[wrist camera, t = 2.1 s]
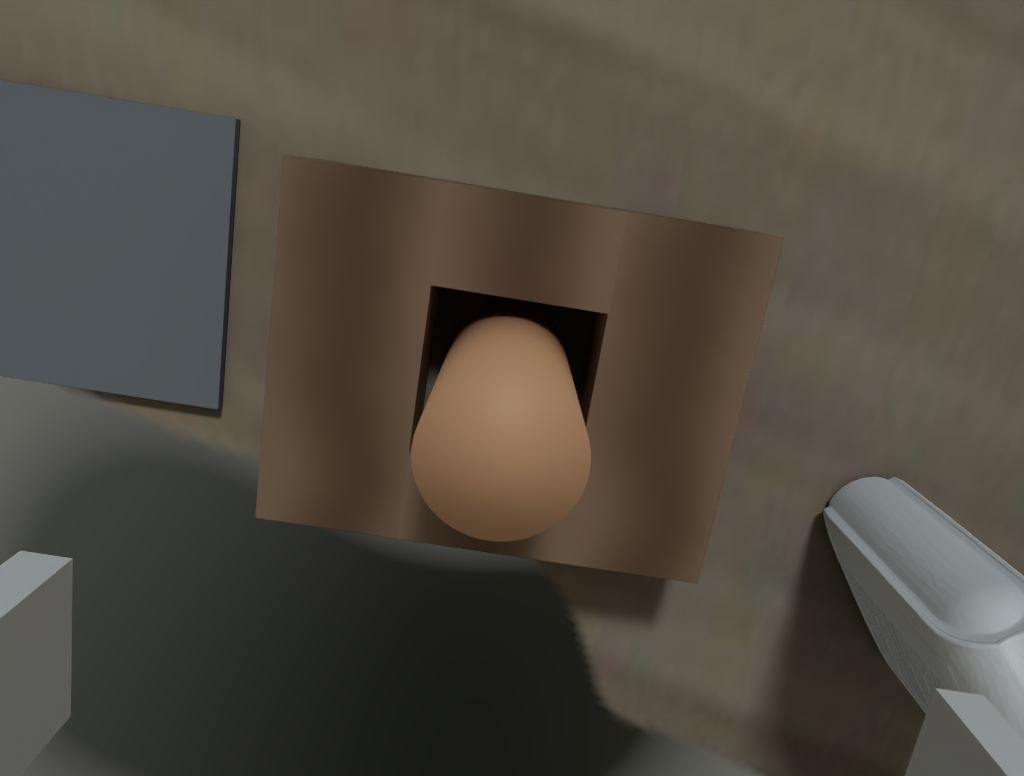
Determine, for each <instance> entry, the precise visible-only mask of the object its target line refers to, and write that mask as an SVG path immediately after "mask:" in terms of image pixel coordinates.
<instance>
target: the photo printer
mask: <svg viewBox="0 0 1024 776" xmlns="http://www.w3.org/2000/svg"><path fill="white" fill-rule="evenodd" d="M823 515H824V520H825V525H826V529H827V532H828V535H829V538H830V541H831V544H832V546H833V548H834V551H835V553H836V557H837V559H838V561H839V563H840V565H841V568H842V570H843V572H844V575H845V577H846V579H847V582H848V584H849V586H850V589H851V591H852V593H853V596H854V598H855V600H856V602H857V605H858V607H859V609H860V611H861V614H862V616H863V618H864V620H865V622H866V624H867V626H868V628H869V630H870V632H871V635H872V637H873V639H874V640H875V642H876V645H877V647H878V649H879V651H880V653H881V654H882V656H883V658H884V659H885V661H886V662H887V664H888V665H889V667H890V668H891V669H892V671H893V672H894V673H895V675H896V676H897V677H898V678H899V680H900V681H901V682H902V684H903V685H904V686H905V688H906V689H907V690H908V691H909V693H910V694H911V695H912V697H913V698H914V699H915V701H916V702H917V703H918V704H919V706H920V707H921V708H922V710H923V711H924V712H925V714H926V713H927V710H928V708H929V705H930V702H931V699H932V696H933V693H934V691H935V688H938V689H944V690H951V691H958V692H964V693H971V694H978V695H984V696H985V697H986V698H987V699H988V700H989V701H990V703H991V704H992V705H993V706H994V707H995V708H996V709H997V710H998V711H999V713H1000V714H1001V715H1002V716H1003V717H1004V718H1005V719H1006V720H1007V721H1008V723H1009V724H1010V725H1011V726H1012V727H1013V728H1014V729H1015V730H1016V731H1017V732H1018V734H1019V735H1020V736H1021V737H1022V738H1023V739H1024V576H1023V575H1022V574H1020V573H1019V572H1018V571H1017V570H1015V569H1014V568H1013V567H1012V566H1010V565H1009V564H1008V563H1007V562H1005V561H1004V560H1003V559H1002V558H1000V557H999V556H998V555H997V554H995V553H994V552H993V551H992V550H990V549H989V548H988V547H987V546H985V545H984V544H983V543H981V542H980V541H979V540H978V539H976V538H975V537H974V536H973V535H972V534H970V533H969V532H968V531H967V530H965V529H964V528H963V527H962V526H960V525H959V524H958V523H956V522H955V521H954V520H953V519H952V518H950V517H949V516H948V515H946V514H945V513H944V512H943V511H941V510H940V509H939V508H938V507H936V506H935V505H934V504H932V503H931V502H930V501H929V500H927V499H926V498H925V497H924V496H922V495H921V494H920V493H918V492H917V491H916V490H914V489H913V488H912V487H911V486H909V485H908V484H907V483H905V482H904V481H902V480H900V479H898V478H896V477H893V478H891V479H889V480H887V479H884V478H881V477H866V478H861V479H858V480H855V481H853V482H851V483H849V484H847V485H845V486H844V487H842V488H841V489H840V490H839V491H838V492H837V493H836V494H835V495H834V496H833V497H832V498H831V500H830V502H829V507H827V508H824V509H823Z"/></svg>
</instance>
